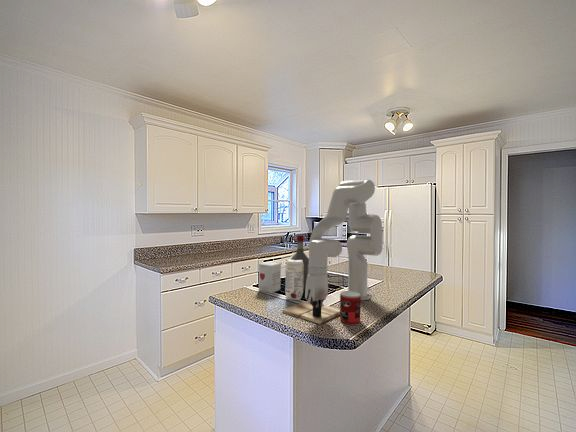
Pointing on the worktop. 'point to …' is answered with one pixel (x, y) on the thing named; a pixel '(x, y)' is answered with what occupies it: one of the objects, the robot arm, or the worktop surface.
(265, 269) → the supplement box
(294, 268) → the juice carton
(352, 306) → the canned food
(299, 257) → the liquor
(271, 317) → the worktop surface
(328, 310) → the plank
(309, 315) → the plank
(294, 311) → the brown wooden board
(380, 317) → the worktop surface
